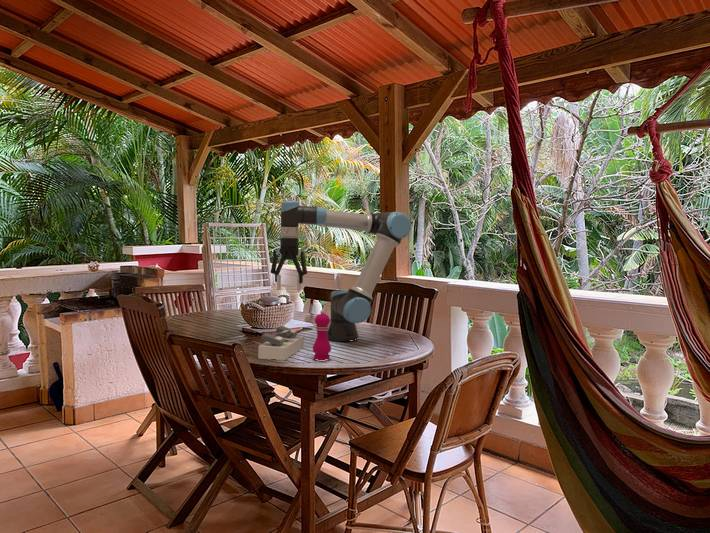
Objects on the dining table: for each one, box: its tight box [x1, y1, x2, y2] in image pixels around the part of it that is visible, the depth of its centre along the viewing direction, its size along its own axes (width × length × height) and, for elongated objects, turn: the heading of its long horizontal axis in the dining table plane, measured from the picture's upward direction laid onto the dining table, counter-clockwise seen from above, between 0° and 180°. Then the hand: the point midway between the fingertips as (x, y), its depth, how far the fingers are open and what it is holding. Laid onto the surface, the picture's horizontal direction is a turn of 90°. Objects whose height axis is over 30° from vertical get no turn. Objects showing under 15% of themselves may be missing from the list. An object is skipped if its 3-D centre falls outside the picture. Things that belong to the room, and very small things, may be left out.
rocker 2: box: [272, 330, 291, 338], centre depth 226 cm, size 8×5×2 cm, turn 77°
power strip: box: [257, 335, 305, 361], centre depth 229 cm, size 11×30×6 cm, turn 167°
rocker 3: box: [275, 325, 298, 338], centre depth 234 cm, size 8×5×2 cm, turn 77°
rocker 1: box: [260, 332, 285, 346], centre depth 218 cm, size 8×5×2 cm, turn 77°
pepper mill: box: [312, 309, 332, 360], centre depth 216 cm, size 7×7×20 cm
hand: (288, 290), depth 231 cm, fingers open, 8 cm apart
